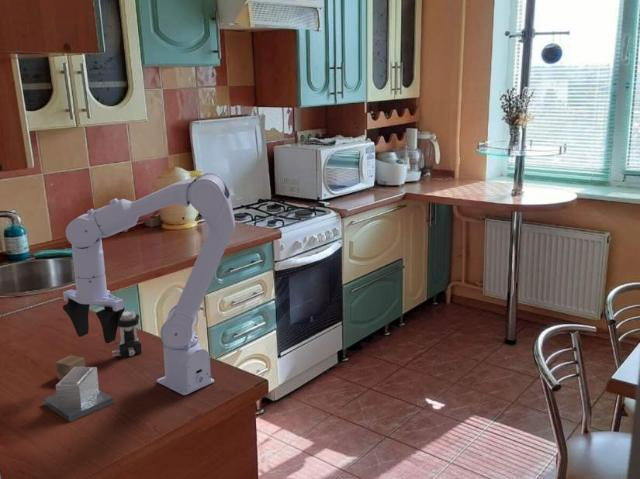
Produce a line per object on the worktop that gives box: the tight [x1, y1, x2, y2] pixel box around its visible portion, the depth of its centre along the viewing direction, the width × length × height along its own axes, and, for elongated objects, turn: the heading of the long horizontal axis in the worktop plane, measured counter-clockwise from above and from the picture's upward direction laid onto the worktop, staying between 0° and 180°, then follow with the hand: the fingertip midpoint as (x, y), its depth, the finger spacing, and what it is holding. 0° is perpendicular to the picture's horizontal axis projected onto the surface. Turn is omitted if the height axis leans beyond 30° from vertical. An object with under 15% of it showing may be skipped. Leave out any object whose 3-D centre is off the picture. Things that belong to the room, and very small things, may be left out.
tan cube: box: [55, 354, 86, 380], centre depth 129 cm, size 4×4×4 cm
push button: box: [111, 310, 143, 358], centre depth 139 cm, size 7×5×10 cm
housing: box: [55, 366, 100, 408], centre depth 118 cm, size 8×4×5 cm, turn 177°
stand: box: [43, 388, 114, 423], centre depth 118 cm, size 10×9×1 cm
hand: (96, 338), depth 124 cm, fingers open, 7 cm apart
